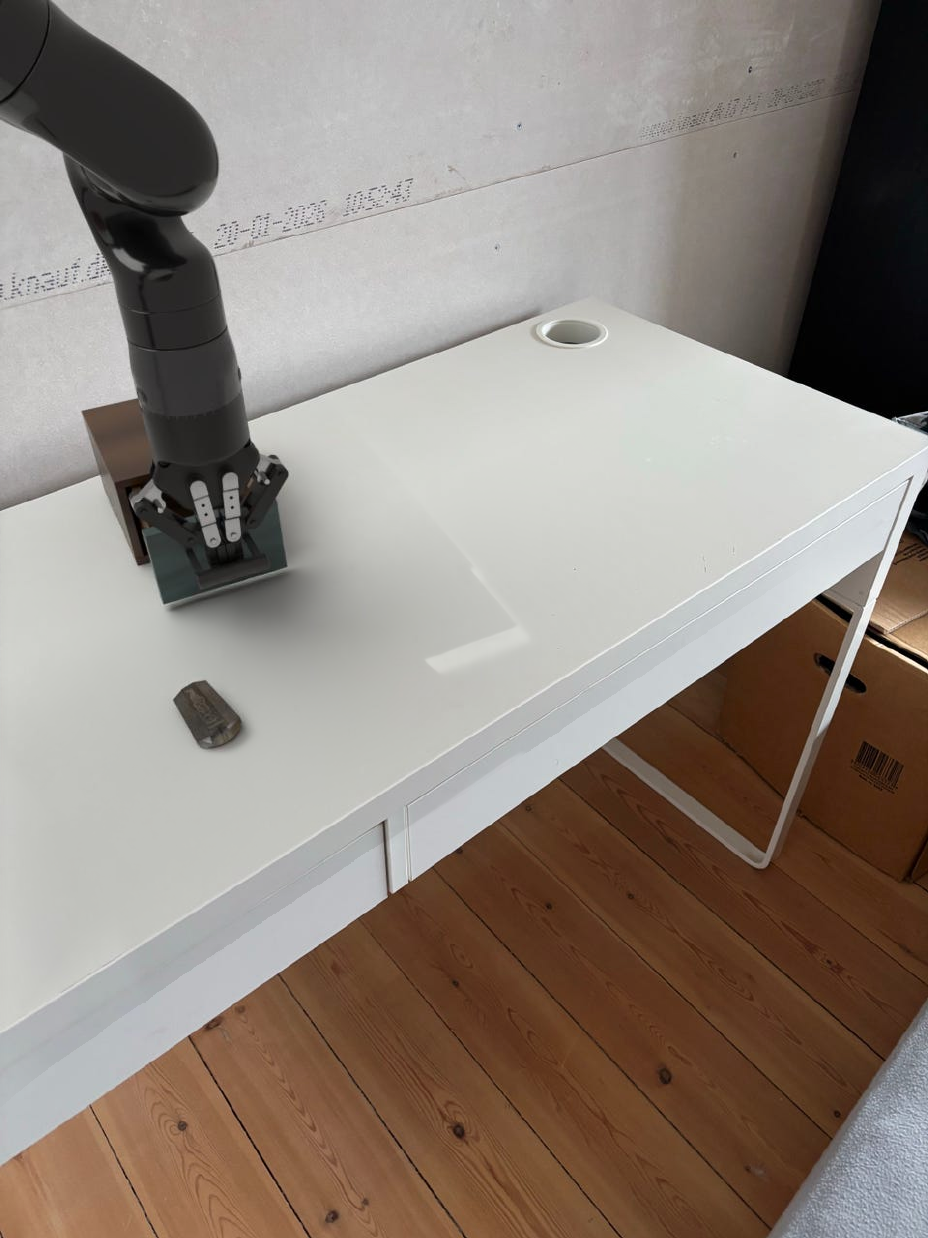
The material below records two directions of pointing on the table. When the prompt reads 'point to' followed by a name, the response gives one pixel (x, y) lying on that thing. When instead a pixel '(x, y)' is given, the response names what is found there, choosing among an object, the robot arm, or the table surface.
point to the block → (207, 714)
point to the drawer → (188, 567)
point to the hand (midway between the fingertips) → (228, 572)
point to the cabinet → (121, 461)
